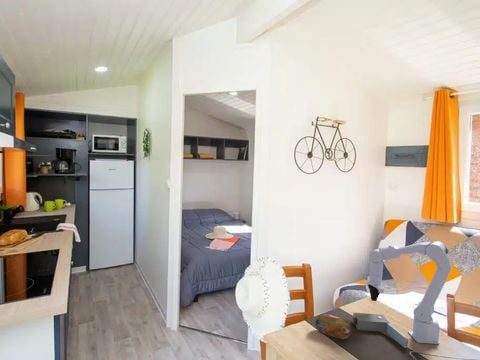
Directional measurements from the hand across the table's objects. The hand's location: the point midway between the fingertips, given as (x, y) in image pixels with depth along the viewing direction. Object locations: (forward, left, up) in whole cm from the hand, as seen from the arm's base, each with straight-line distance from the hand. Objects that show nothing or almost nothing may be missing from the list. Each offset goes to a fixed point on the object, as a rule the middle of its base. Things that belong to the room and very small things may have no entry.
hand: (373, 300), depth 143 cm
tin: (+24, +16, -10) cm, 30 cm away
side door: (-4, +17, -9) cm, 20 cm away
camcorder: (+4, +8, -9) cm, 13 cm away
